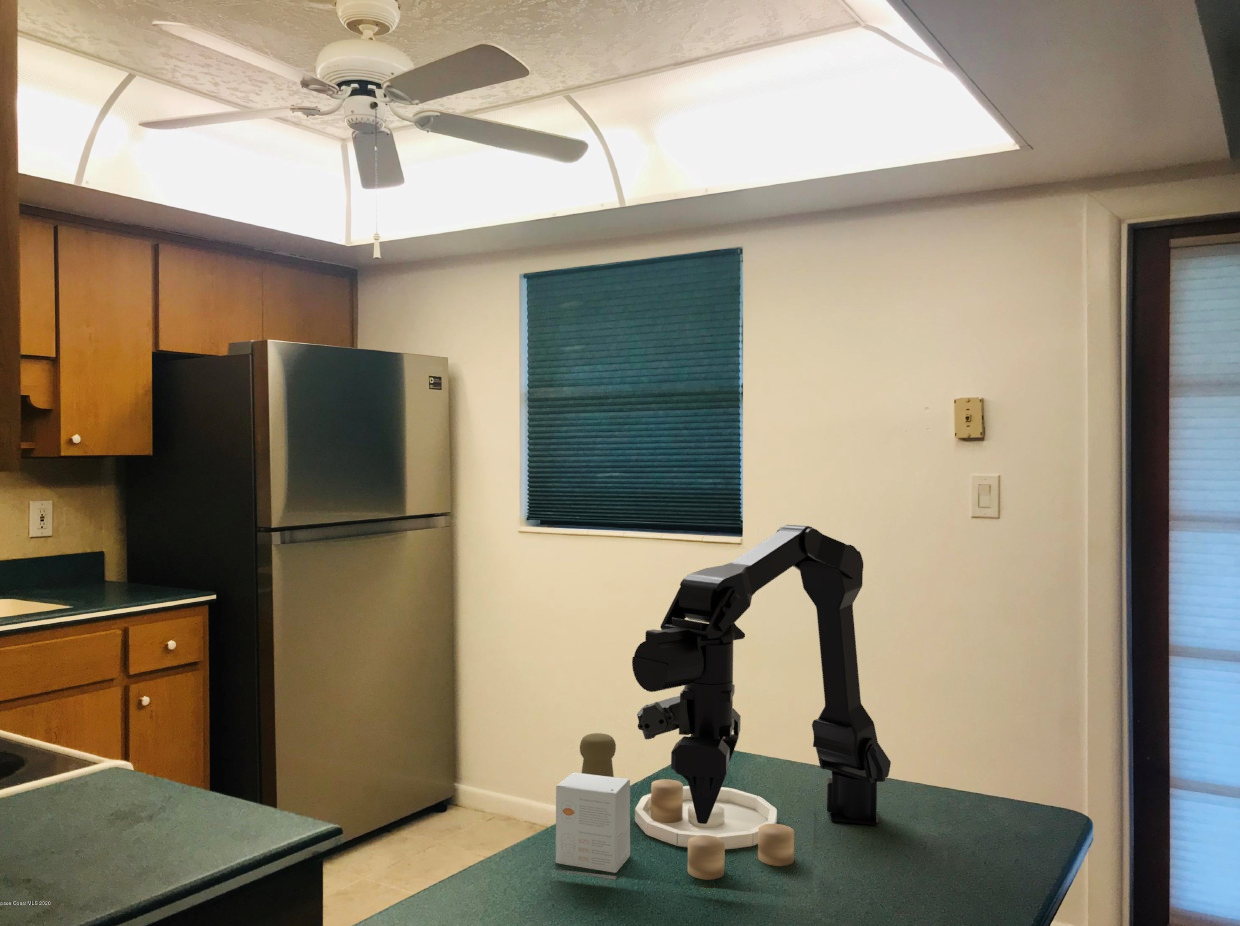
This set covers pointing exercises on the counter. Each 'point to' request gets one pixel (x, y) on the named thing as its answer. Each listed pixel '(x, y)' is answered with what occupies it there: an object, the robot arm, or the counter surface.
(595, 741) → the cork
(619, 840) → the small box
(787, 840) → the bead
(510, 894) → the counter surface
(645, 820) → the tray
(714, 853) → the tan rounded piece
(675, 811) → the bead
